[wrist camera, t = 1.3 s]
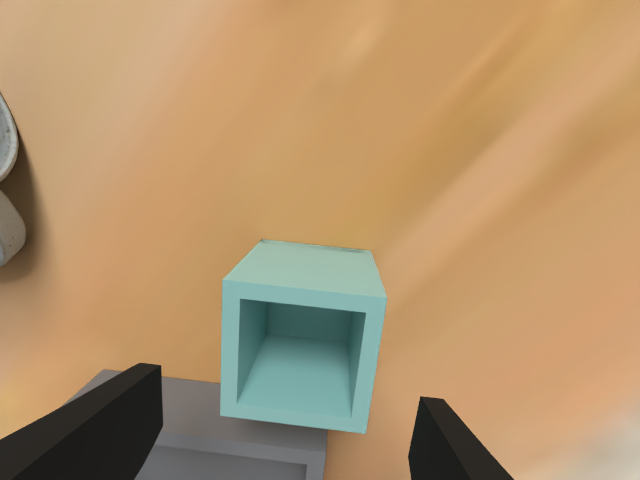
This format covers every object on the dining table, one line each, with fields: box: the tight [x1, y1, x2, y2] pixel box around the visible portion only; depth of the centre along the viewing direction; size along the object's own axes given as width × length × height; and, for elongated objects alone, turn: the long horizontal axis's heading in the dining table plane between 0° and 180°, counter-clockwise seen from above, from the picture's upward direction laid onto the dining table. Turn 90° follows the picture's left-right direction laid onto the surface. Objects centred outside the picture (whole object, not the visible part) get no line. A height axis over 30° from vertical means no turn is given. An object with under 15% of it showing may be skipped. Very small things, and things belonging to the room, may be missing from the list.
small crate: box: [220, 239, 387, 434], centre depth 14 cm, size 5×5×6 cm
